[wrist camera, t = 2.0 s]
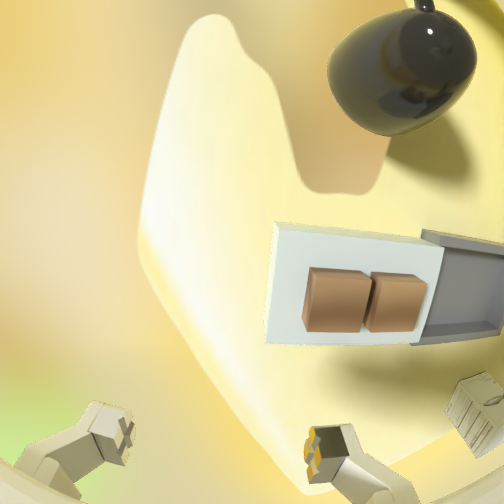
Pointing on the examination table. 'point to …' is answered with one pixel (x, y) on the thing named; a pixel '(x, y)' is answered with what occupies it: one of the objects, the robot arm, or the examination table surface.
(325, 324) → the tile
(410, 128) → the pump dispenser
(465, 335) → the tray
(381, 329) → the tile
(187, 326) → the examination table surface
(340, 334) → the pale grey flat block
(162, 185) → the examination table surface
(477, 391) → the supplement box
